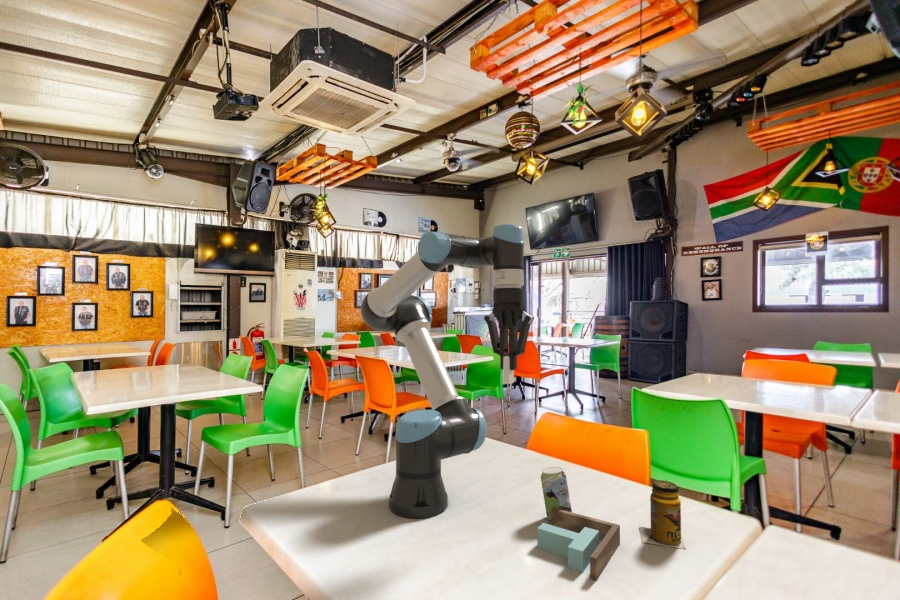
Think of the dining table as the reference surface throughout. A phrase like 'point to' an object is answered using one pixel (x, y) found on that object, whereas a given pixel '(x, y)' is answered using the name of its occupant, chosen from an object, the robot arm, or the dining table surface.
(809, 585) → the dining table surface
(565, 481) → the beverage can
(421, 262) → the robot arm
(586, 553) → the t block
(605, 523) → the corner fence
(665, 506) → the condiment
